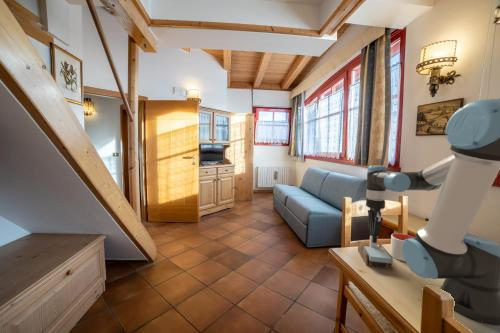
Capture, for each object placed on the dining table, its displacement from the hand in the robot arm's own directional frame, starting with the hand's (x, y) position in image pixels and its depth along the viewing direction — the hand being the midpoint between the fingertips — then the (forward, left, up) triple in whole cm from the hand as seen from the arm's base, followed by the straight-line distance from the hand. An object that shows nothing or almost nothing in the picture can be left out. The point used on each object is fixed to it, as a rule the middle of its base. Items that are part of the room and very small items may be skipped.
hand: (373, 248), depth 99 cm
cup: (+4, -14, -5) cm, 15 cm away
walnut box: (-1, 0, -5) cm, 5 cm away
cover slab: (-6, 0, -1) cm, 6 cm away
